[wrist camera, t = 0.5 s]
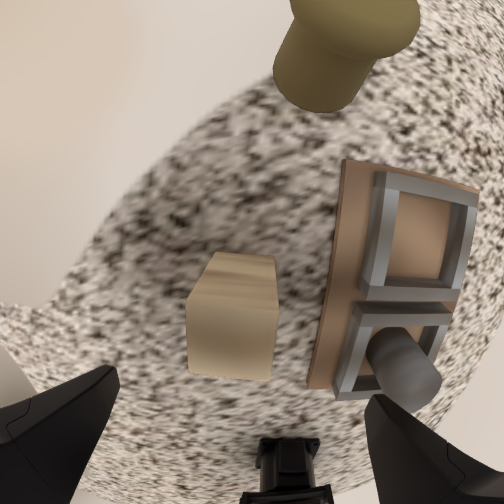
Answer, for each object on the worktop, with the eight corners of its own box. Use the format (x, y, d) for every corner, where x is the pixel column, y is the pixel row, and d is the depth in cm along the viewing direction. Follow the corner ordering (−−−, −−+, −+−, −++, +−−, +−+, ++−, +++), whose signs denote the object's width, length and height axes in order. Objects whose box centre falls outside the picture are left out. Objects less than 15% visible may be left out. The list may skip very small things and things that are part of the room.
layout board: (421, 375, 22) (450, 422, 15) (306, 381, 22) (316, 443, 15) (472, 188, 17) (532, 200, 10) (342, 159, 17) (384, 153, 10)
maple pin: (268, 308, 20) (269, 381, 13) (214, 303, 20) (188, 372, 13) (273, 256, 19) (279, 310, 12) (215, 251, 19) (185, 302, 12)
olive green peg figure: (369, 60, 15) (448, -14, 4) (343, 128, 17) (431, 83, 6) (290, 26, 15) (309, -79, 4) (259, 92, 16) (251, 0, 6)
